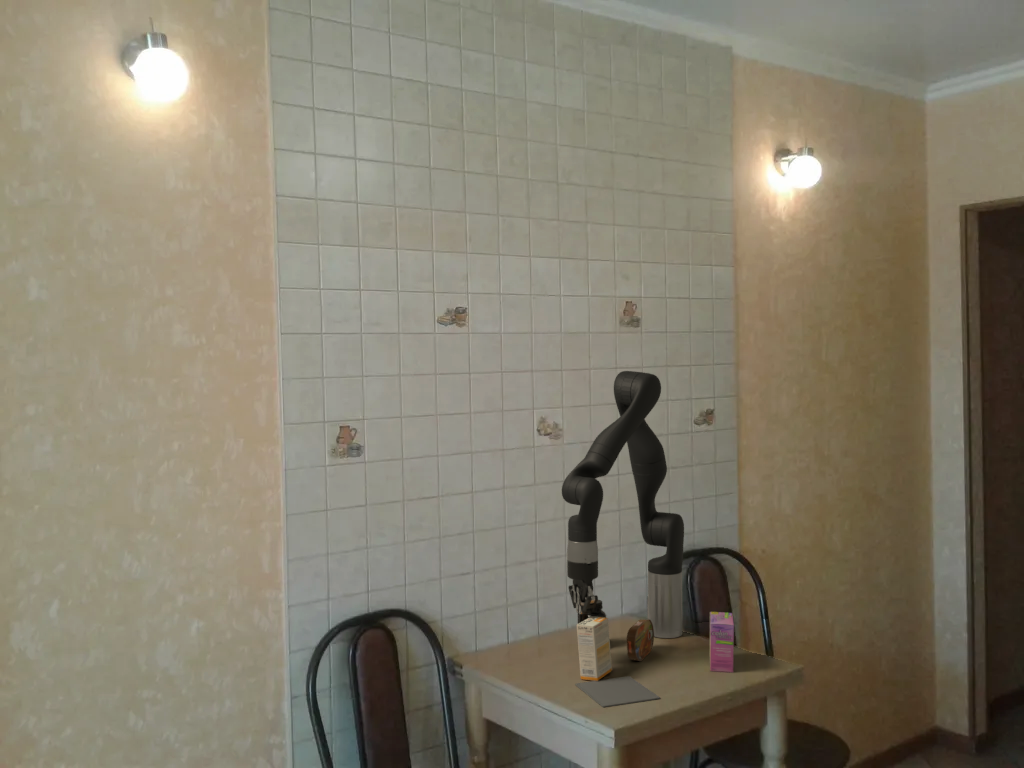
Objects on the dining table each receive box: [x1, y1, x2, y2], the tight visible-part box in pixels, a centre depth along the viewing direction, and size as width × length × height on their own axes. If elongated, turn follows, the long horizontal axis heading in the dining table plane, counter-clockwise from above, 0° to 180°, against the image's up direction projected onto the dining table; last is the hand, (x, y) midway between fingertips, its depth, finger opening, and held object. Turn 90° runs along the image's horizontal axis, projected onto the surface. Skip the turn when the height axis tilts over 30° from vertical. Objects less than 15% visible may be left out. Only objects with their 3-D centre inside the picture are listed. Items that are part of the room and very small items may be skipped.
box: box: [709, 611, 735, 674], centre depth 229 cm, size 10×6×12 cm, turn 168°
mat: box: [574, 675, 661, 708], centre depth 212 cm, size 15×14×1 cm
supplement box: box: [576, 616, 613, 681], centre depth 223 cm, size 8×5×13 cm, turn 149°
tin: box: [626, 619, 655, 662], centre depth 238 cm, size 15×3×8 cm, turn 154°
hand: (583, 628), depth 229 cm, fingers closed
